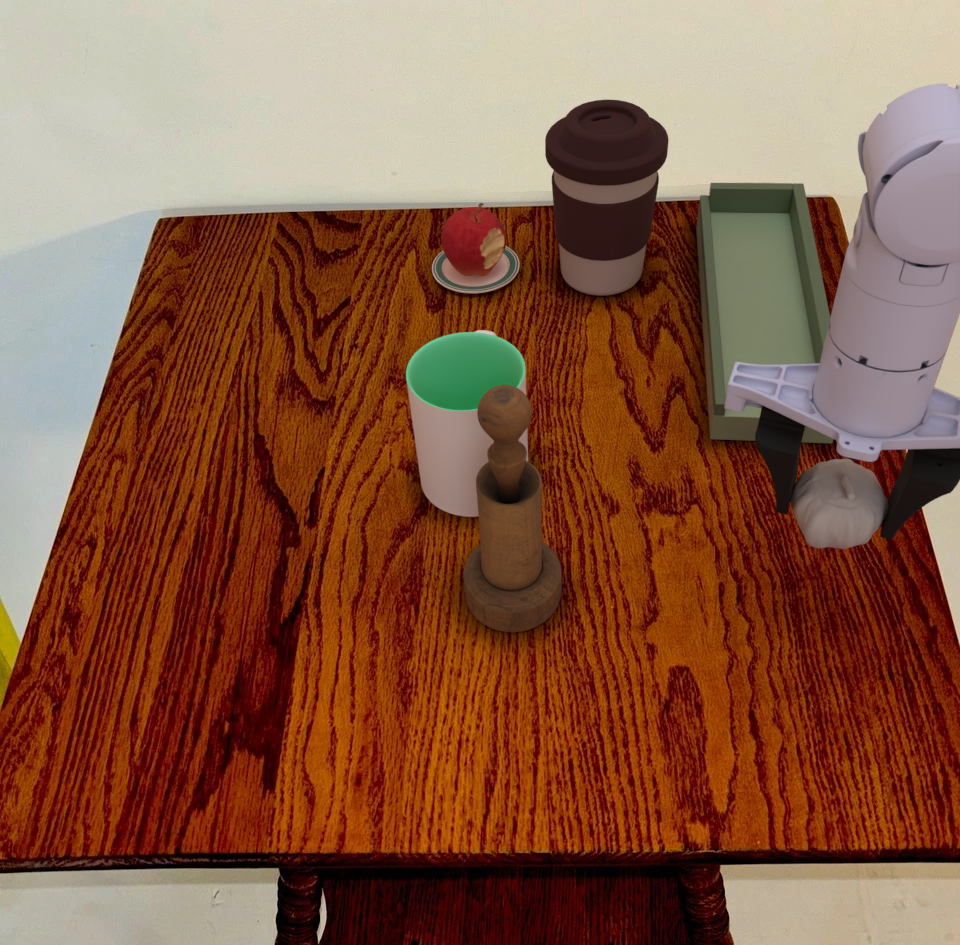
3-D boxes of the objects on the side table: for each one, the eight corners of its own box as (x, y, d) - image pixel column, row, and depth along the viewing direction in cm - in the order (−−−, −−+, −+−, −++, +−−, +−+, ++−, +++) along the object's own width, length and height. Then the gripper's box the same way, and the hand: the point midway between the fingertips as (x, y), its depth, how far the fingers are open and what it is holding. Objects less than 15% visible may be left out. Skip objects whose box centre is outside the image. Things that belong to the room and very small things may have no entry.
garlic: (863, 580, 60) (883, 522, 56) (771, 548, 62) (785, 490, 58) (888, 510, 63) (910, 450, 59) (801, 482, 65) (816, 422, 61)
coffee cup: (644, 315, 89) (656, 157, 78) (533, 298, 91) (530, 142, 81) (666, 250, 95) (680, 95, 84) (562, 235, 98) (562, 83, 87)
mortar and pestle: (555, 638, 67) (556, 441, 54) (457, 628, 68) (433, 432, 55) (566, 558, 71) (568, 358, 58) (473, 549, 72) (455, 351, 59)
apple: (524, 247, 97) (522, 185, 92) (514, 299, 92) (511, 236, 87) (440, 243, 98) (434, 182, 93) (425, 295, 93) (418, 233, 88)
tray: (832, 444, 77) (846, 394, 74) (710, 439, 78) (717, 390, 75) (794, 230, 96) (803, 183, 93) (696, 229, 97) (701, 182, 94)
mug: (436, 401, 83) (424, 296, 75) (536, 404, 82) (534, 298, 74) (412, 513, 75) (396, 408, 67) (523, 519, 74) (520, 413, 66)
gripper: (725, 355, 51) (698, 532, 61) (1044, 418, 47) (959, 597, 57) (753, 274, 56) (724, 451, 65) (1047, 325, 51) (968, 505, 61)
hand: (834, 513), depth 62 cm, fingers closed on garlic, 5 cm apart
